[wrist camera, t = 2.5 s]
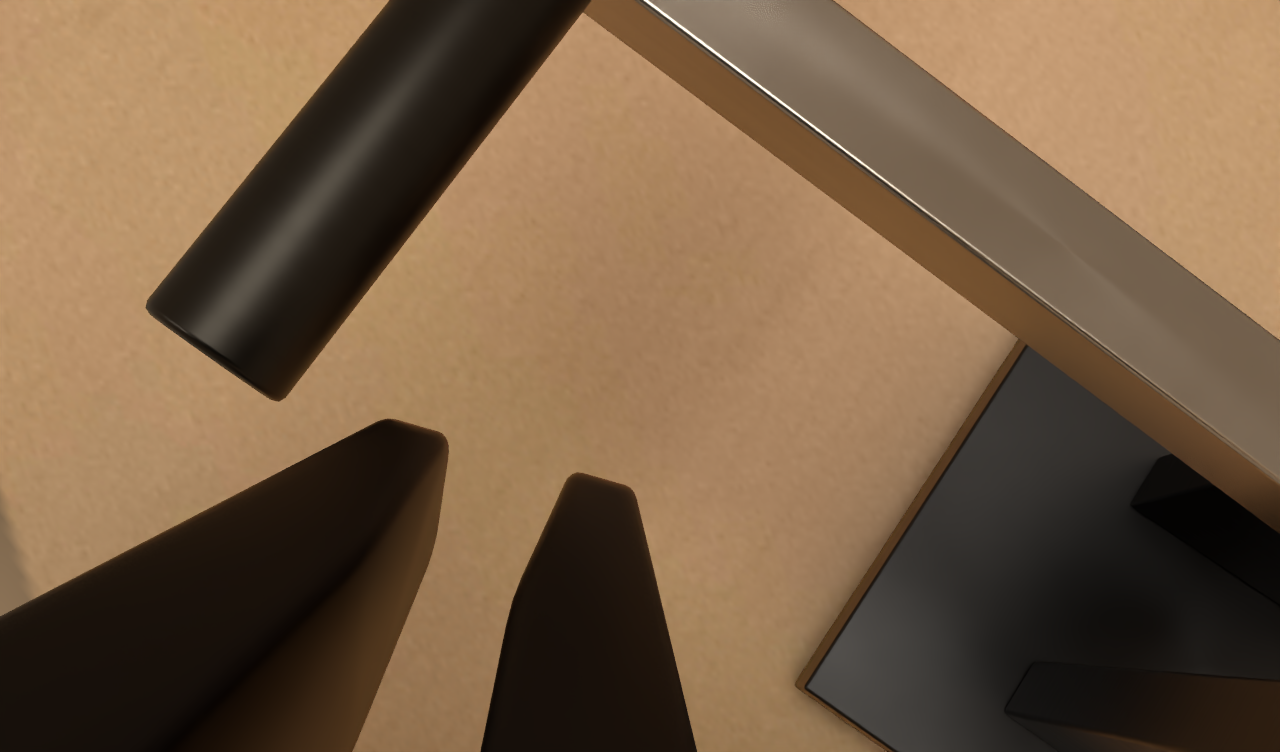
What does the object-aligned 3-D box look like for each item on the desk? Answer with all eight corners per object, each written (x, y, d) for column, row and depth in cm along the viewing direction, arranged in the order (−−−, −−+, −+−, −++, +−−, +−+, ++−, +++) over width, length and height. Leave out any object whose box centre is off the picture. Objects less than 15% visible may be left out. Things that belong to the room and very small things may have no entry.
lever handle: (176, 329, 11) (103, 283, 9) (785, -433, 13) (860, -643, 10) (1370, 1179, 12) (1595, 1343, 10) (1792, 360, 14) (2070, 330, 11)
